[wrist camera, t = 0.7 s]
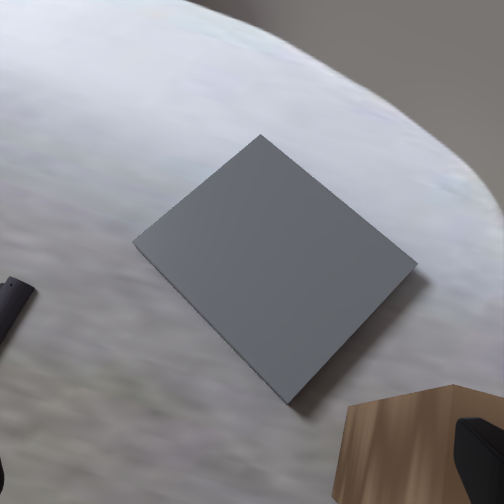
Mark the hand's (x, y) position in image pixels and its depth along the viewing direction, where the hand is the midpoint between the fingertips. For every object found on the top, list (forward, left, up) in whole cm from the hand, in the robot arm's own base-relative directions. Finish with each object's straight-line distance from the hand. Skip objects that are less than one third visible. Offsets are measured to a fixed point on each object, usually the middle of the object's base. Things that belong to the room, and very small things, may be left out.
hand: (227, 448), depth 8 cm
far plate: (+6, -8, -16) cm, 19 cm away
